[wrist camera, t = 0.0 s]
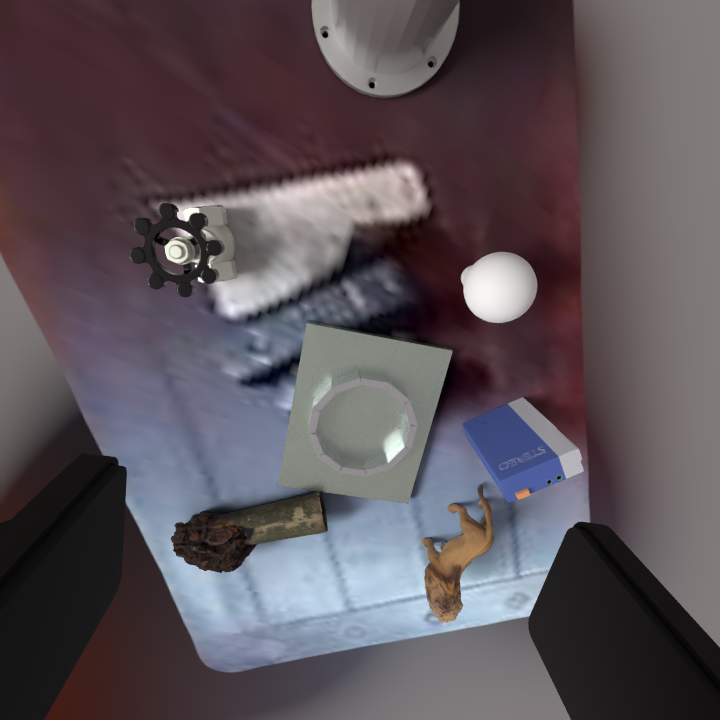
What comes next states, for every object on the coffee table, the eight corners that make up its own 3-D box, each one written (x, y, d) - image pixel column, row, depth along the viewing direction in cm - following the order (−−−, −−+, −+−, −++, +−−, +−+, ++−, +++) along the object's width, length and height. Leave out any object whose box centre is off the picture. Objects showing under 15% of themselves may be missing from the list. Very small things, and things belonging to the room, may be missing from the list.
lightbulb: (431, 290, 44) (463, 311, 34) (460, 236, 43) (502, 241, 32) (480, 314, 46) (524, 341, 35) (509, 262, 44) (565, 275, 34)
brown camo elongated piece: (320, 482, 51) (320, 513, 46) (330, 526, 53) (331, 561, 48) (176, 508, 51) (159, 543, 45) (192, 551, 53) (178, 589, 48)
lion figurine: (441, 573, 57) (461, 635, 48) (407, 562, 56) (421, 623, 47) (496, 487, 53) (528, 539, 45) (460, 474, 52) (485, 523, 44)
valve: (191, 280, 42) (140, 302, 31) (176, 211, 40) (115, 207, 29) (256, 273, 43) (230, 292, 31) (244, 204, 40) (212, 198, 29)
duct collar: (307, 320, 44) (305, 327, 41) (449, 347, 47) (458, 356, 44) (279, 479, 50) (275, 496, 47) (406, 497, 52) (411, 514, 49)
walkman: (469, 441, 51) (509, 506, 39) (461, 423, 50) (500, 483, 38) (530, 415, 50) (589, 473, 39) (523, 396, 49) (581, 449, 38)
